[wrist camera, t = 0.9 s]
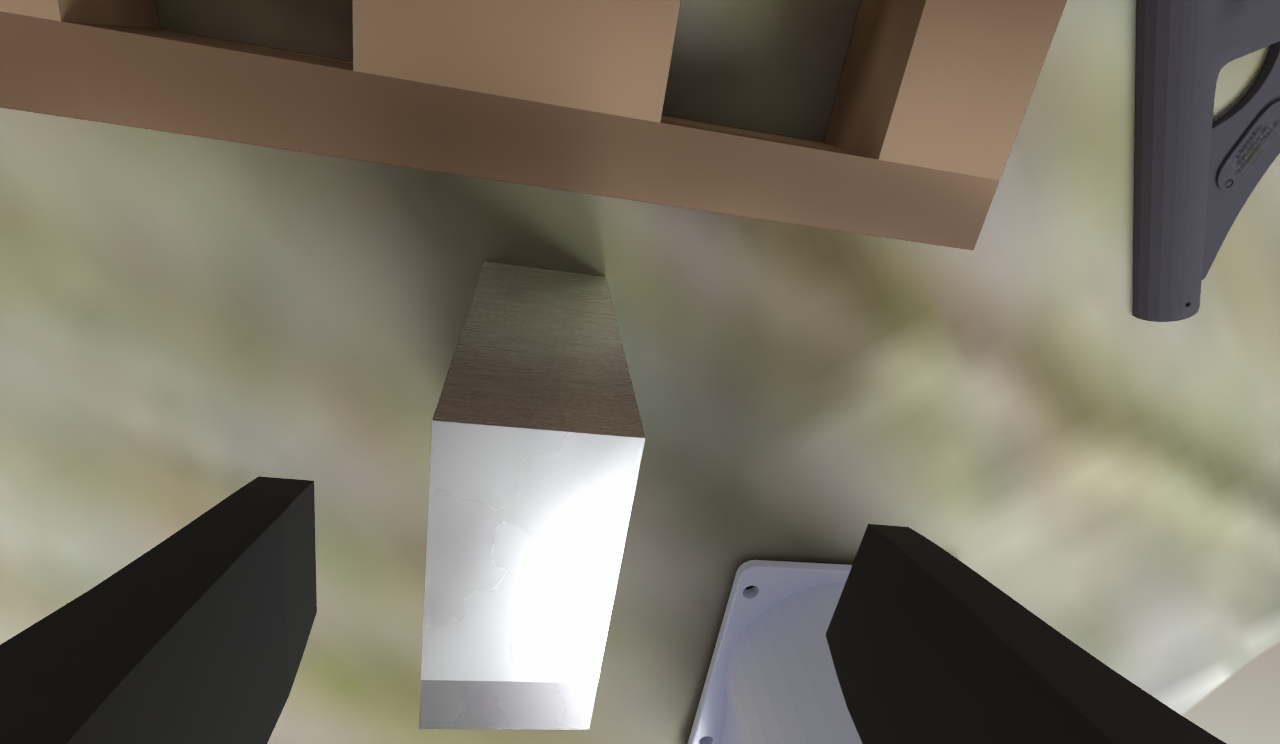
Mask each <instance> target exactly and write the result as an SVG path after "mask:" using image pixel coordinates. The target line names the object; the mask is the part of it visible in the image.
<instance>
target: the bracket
mask: <svg viewBox="0 0 1280 744" xmlns="http://www.w3.org/2000/svg"><path fill="white" fill-rule="evenodd" d="M1269 45H1271V47H1270V51H1269V53H1268V56H1267V59H1266V61H1265V63H1264V66H1263V68H1262V70H1261V72H1260V74H1259V76H1258V77H1257V79H1256V81H1255V82H1254V84H1253V85H1252V87H1251V88H1250V90H1249V91H1248V92H1247V94H1246V95H1245V96H1244V97H1243V98H1242V100H1241V101H1240V102H1239V103H1238V104H1237V105H1236V106H1235V107H1234V108H1233V109H1232V110H1230V111H1229V112H1228V113H1227V114H1225V115H1224V116H1223V117H1222V118H1220V119H1219V120H1217V121H1215V122H1214V123H1212V120H1213V108H1214V97H1215V89H1216V82H1217V78H1218V74H1219V72H1220V70H1221V68H1222V67H1223V66H1224V65H1226V64H1227V63H1229V62H1230V61H1232V60H1235V59H1237V58H1239V57H1242V56H1244V55H1247V54H1249V53H1252V52H1254V51H1257V50H1259V49H1261V48H1264V47H1266V46H1269ZM1279 153H1280V0H1137V11H1136V81H1135V151H1134V222H1133V308H1132V313H1133V316H1135V317H1137V318H1139V319H1143V320H1147V321H1157V322H1169V321H1178V320H1182V319H1186V318H1189V317H1191V316H1193V315H1195V314H1196V313H1197V312H1198V310H1199V306H1200V292H1201V280H1203V279H1204V278H1205V277H1206V275H1207V273H1208V271H1209V269H1210V267H1211V265H1212V263H1213V261H1214V259H1215V257H1216V255H1217V253H1218V251H1219V249H1220V247H1221V245H1222V243H1223V241H1224V239H1225V237H1226V235H1227V233H1228V232H1229V230H1230V228H1231V226H1232V224H1233V222H1234V221H1235V219H1236V217H1237V215H1238V214H1239V212H1240V210H1241V209H1242V207H1243V205H1244V204H1245V202H1246V200H1247V199H1248V197H1249V196H1250V194H1251V193H1252V191H1253V190H1254V188H1255V187H1256V185H1257V183H1258V182H1259V181H1260V179H1261V178H1262V176H1263V175H1264V173H1265V172H1266V171H1267V169H1268V168H1269V166H1270V165H1271V164H1272V162H1273V161H1274V160H1275V158H1276V157H1277V156H1278V154H1279Z"/></svg>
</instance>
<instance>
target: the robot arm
mask: <svg viewBox="0 0 1280 744" xmlns="http://www.w3.org/2000/svg"><path fill="white" fill-rule="evenodd" d="M748 586H754V587H752V588H751V589H747V590H745V588H747V587H748ZM316 612H317V606H316V559H315V512H314V481H308V480H295V479H282V478H269V477H258V478H256V479H254V480H253V481H251V482H250V483H248V484H247V485H245V486H244V487H242V488H241V489H239V490H238V491H236V492H235V493H233V494H232V495H230V496H229V497H227V498H226V499H224V500H223V501H221V502H220V503H219V504H217V505H216V506H214V507H213V508H211V509H210V510H208V511H207V512H205V513H204V514H203V515H201V516H200V517H198V518H197V519H195V520H194V521H192V522H191V523H189V524H188V525H187V526H185V527H184V528H182V529H181V530H179V531H178V532H176V533H175V534H173V535H172V536H170V537H169V538H168V539H166V540H165V541H163V542H162V543H160V544H159V545H157V546H156V547H154V548H153V549H151V550H150V551H148V552H147V553H145V554H143V555H142V556H140V557H139V558H137V559H136V560H134V561H133V562H131V563H130V564H128V565H127V566H125V567H124V568H122V569H121V570H119V571H118V572H116V573H115V574H113V575H112V576H110V577H109V578H107V579H106V580H104V581H103V582H101V583H100V584H98V585H97V586H95V587H94V588H92V589H91V590H89V591H88V592H86V593H84V594H83V595H81V596H79V597H78V598H76V599H75V600H73V601H71V602H70V603H68V604H66V605H65V606H63V607H61V608H60V609H58V610H57V611H55V612H53V613H52V614H50V615H48V616H47V617H45V618H43V619H42V620H40V621H39V622H37V623H35V624H34V625H32V626H30V627H29V628H27V629H25V630H24V631H22V632H21V633H19V634H17V635H16V636H14V637H12V638H11V639H9V640H8V641H6V642H4V643H3V644H1V645H0V744H267V742H268V740H269V738H270V736H271V734H272V731H273V729H274V727H275V725H276V723H277V721H278V718H279V716H280V714H281V712H282V710H283V707H284V705H285V703H286V701H287V698H288V696H289V694H290V691H291V688H292V685H293V682H294V679H295V676H296V673H297V671H298V668H299V665H300V662H301V659H302V656H303V653H304V650H305V647H306V643H307V640H308V637H309V634H310V631H311V628H312V625H313V622H314V619H315V615H316ZM688 744H1226V743H1224V742H1223V741H1221V740H1219V739H1218V738H1216V737H1214V736H1213V735H1211V734H1210V733H1208V732H1207V731H1205V730H1203V729H1202V728H1200V727H1199V726H1197V725H1195V724H1194V723H1192V722H1191V721H1189V720H1188V719H1186V718H1184V717H1183V716H1181V715H1180V714H1178V713H1177V712H1175V711H1174V710H1172V709H1170V708H1169V707H1168V706H1166V705H1165V704H1163V703H1162V702H1160V701H1159V700H1157V699H1156V698H1154V697H1153V696H1151V695H1150V694H1148V693H1147V692H1145V691H1144V690H1142V689H1141V688H1139V687H1138V686H1136V685H1135V684H1133V683H1132V682H1130V681H1129V680H1127V679H1126V678H1124V677H1123V676H1121V675H1120V674H1118V673H1117V672H1115V671H1114V670H1112V669H1111V668H1109V667H1108V666H1106V665H1105V664H1103V663H1102V662H1101V661H1099V660H1098V659H1096V658H1095V657H1093V656H1092V655H1090V654H1089V653H1088V652H1086V651H1085V650H1083V649H1082V648H1080V647H1079V646H1078V645H1076V644H1075V643H1073V642H1072V641H1070V640H1069V639H1068V638H1066V637H1065V636H1063V635H1062V634H1061V633H1059V632H1058V631H1056V630H1055V629H1054V628H1052V627H1051V626H1049V625H1048V624H1047V623H1045V622H1044V621H1042V620H1041V619H1040V618H1038V617H1037V616H1036V615H1034V614H1033V613H1031V612H1030V611H1029V610H1027V609H1026V608H1024V607H1023V606H1022V605H1020V604H1019V603H1018V602H1016V601H1015V600H1013V599H1012V598H1011V597H1009V596H1008V595H1007V594H1005V593H1004V592H1002V591H1001V590H1000V589H998V588H997V587H995V586H994V585H993V584H991V583H990V582H989V581H987V580H986V579H984V578H983V577H982V576H980V575H979V574H978V573H976V572H975V571H973V570H972V569H971V568H969V567H968V566H966V565H965V564H964V563H962V562H961V561H959V560H958V559H956V558H955V557H954V556H952V555H951V554H949V553H948V552H946V551H945V550H943V549H942V548H940V547H939V546H938V545H936V544H935V543H933V542H931V541H930V540H928V539H927V538H925V537H924V536H922V535H920V534H919V533H917V532H915V531H914V530H912V529H910V528H909V527H898V526H886V525H873V524H868V526H867V529H866V531H865V534H864V537H863V539H862V542H861V544H860V547H859V549H858V552H857V555H856V557H855V560H854V562H853V565H843V564H824V563H804V562H785V561H766V560H750V561H747V562H745V563H743V564H742V565H741V566H740V567H739V568H738V570H737V572H736V575H735V579H734V582H733V586H732V590H731V593H730V597H729V600H728V604H727V607H726V611H725V614H724V618H723V621H722V625H721V628H720V632H719V635H718V639H717V642H716V646H715V649H714V653H713V656H712V660H711V663H710V667H709V670H708V674H707V677H706V681H705V685H704V688H703V692H702V695H701V699H700V702H699V706H698V709H697V713H696V716H695V720H694V723H693V727H692V730H691V734H690V737H689V741H688Z"/></svg>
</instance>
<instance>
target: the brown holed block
mask: <svg viewBox="0 0 1280 744" xmlns="http://www.w3.org/2000/svg"><path fill="white" fill-rule="evenodd" d="M1066 1H1067V0H861V4H860V7H859V11H858V15H857V19H856V23H855V26H854V30H853V34H852V38H851V41H850V45H849V49H848V53H847V57H846V60H845V64H844V68H843V72H842V76H841V79H840V83H839V87H838V91H837V94H836V98H835V102H834V106H833V110H832V113H831V117H830V121H829V125H828V129H827V132H826V136H825V140H824V143H823V142H817V141H811V140H805V139H800V138H794V137H788V136H782V135H776V134H770V133H765V132H759V131H753V130H747V129H741V128H735V127H730V126H724V125H718V124H712V123H706V122H700V121H695V120H689V119H683V118H677V117H671V116H665V115H662V110H663V104H664V98H665V92H666V86H667V80H668V74H669V68H670V62H671V56H672V50H673V44H674V38H675V32H676V26H677V20H678V14H679V8H680V2H681V0H353V62H350V61H344V60H338V59H333V58H327V57H321V56H315V55H309V54H303V53H298V52H292V51H286V50H280V49H274V48H268V47H262V46H257V45H251V44H245V43H239V42H233V41H227V40H222V39H216V38H210V37H204V36H198V35H192V34H187V33H181V32H175V31H169V30H163V29H159V26H158V17H157V8H156V0H0V107H1V108H8V109H15V110H22V111H28V112H35V113H42V114H49V115H56V116H62V117H69V118H76V119H83V120H90V121H96V122H103V123H110V124H117V125H124V126H130V127H137V128H144V129H151V130H158V131H164V132H171V133H178V134H185V135H192V136H199V137H205V138H212V139H219V140H226V141H233V142H239V143H246V144H253V145H260V146H267V147H273V148H280V149H287V150H294V151H301V152H307V153H314V154H321V155H328V156H335V157H341V158H348V159H355V160H362V161H369V162H375V163H382V164H389V165H396V166H403V167H409V168H416V169H423V170H430V171H437V172H444V173H450V174H457V175H464V176H471V177H478V178H484V179H491V180H498V181H505V182H512V183H518V184H525V185H532V186H539V187H546V188H552V189H559V190H566V191H573V192H580V193H586V194H593V195H600V196H607V197H614V198H620V199H627V200H634V201H641V202H648V203H655V204H661V205H668V206H675V207H682V208H689V209H695V210H702V211H709V212H716V213H723V214H729V215H736V216H743V217H750V218H757V219H763V220H770V221H777V222H784V223H791V224H797V225H804V226H811V227H818V228H825V229H831V230H838V231H845V232H852V233H859V234H866V235H872V236H879V237H886V238H893V239H900V240H906V241H913V242H920V243H927V244H934V245H940V246H947V247H954V248H961V249H968V250H974V247H975V245H976V242H977V239H978V237H979V234H980V231H981V229H982V226H983V223H984V220H985V218H986V215H987V212H988V210H989V207H990V204H991V202H992V199H993V196H994V194H995V191H996V188H997V186H998V183H999V180H1000V178H1001V175H1002V172H1003V170H1004V167H1005V164H1006V162H1007V159H1008V156H1009V154H1010V151H1011V148H1012V146H1013V143H1014V140H1015V138H1016V135H1017V132H1018V130H1019V127H1020V124H1021V122H1022V119H1023V116H1024V114H1025V111H1026V108H1027V106H1028V103H1029V100H1030V98H1031V95H1032V92H1033V90H1034V87H1035V84H1036V82H1037V79H1038V76H1039V74H1040V71H1041V68H1042V66H1043V63H1044V60H1045V58H1046V55H1047V52H1048V50H1049V47H1050V44H1051V42H1052V39H1053V36H1054V33H1055V31H1056V28H1057V25H1058V23H1059V20H1060V17H1061V15H1062V12H1063V9H1064V7H1065V4H1066Z"/></svg>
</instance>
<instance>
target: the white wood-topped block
mask: <svg viewBox="0 0 1280 744" xmlns="http://www.w3.org/2000/svg"><path fill="white" fill-rule="evenodd" d="M644 442H645V436H644V431H643V427H642V423H641V419H640V415H639V411H638V407H637V403H636V399H635V395H634V391H633V387H632V383H631V379H630V374H629V370H628V366H627V362H626V358H625V354H624V350H623V346H622V342H621V338H620V334H619V330H618V326H617V322H616V317H615V313H614V309H613V305H612V301H611V297H610V293H609V289H608V285H607V281H606V277H605V276H597V275H589V274H581V273H573V272H565V271H557V270H549V269H541V268H533V267H525V266H517V265H509V264H501V263H494V262H486V261H485V262H484V265H483V268H482V271H481V274H480V277H479V280H478V283H477V286H476V289H475V292H474V295H473V298H472V301H471V304H470V308H469V311H468V314H467V317H466V320H465V323H464V326H463V329H462V332H461V335H460V338H459V341H458V344H457V347H456V350H455V353H454V356H453V359H452V362H451V365H450V368H449V371H448V374H447V377H446V380H445V383H444V386H443V389H442V393H441V396H440V399H439V402H438V405H437V408H436V411H435V414H434V417H433V420H432V437H431V460H430V484H429V507H428V530H427V553H426V576H425V599H424V622H423V645H422V668H421V691H420V714H419V729H564V730H589V726H590V721H591V716H592V711H593V706H594V700H595V695H596V690H597V685H598V680H599V675H600V669H601V664H602V659H603V654H604V649H605V644H606V638H607V633H608V628H609V623H610V618H611V612H612V607H613V602H614V597H615V592H616V587H617V581H618V576H619V571H620V566H621V561H622V556H623V550H624V545H625V540H626V535H627V530H628V525H629V519H630V514H631V509H632V504H633V499H634V494H635V488H636V483H637V478H638V473H639V468H640V463H641V457H642V452H643V447H644Z"/></svg>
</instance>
